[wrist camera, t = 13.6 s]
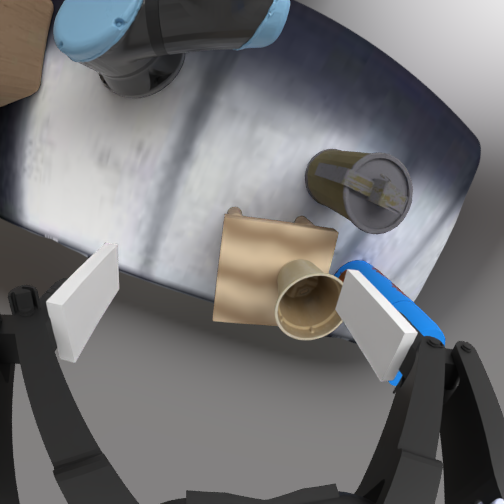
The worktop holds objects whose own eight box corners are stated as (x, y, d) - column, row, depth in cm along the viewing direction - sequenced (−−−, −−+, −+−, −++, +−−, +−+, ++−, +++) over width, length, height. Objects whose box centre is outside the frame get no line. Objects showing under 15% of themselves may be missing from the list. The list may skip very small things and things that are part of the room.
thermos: (331, 311, 59) (382, 396, 36) (326, 267, 55) (388, 345, 32) (376, 298, 59) (439, 370, 36) (375, 253, 55) (451, 317, 32)
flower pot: (298, 317, 44) (312, 351, 36) (252, 284, 41) (258, 317, 33) (340, 273, 42) (364, 300, 34) (296, 234, 39) (314, 257, 31)
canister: (366, 163, 49) (435, 177, 30) (345, 214, 52) (404, 251, 33) (315, 138, 46) (370, 136, 28) (293, 193, 49) (335, 222, 31)
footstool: (224, 200, 49) (224, 217, 38) (314, 213, 51) (338, 232, 40) (214, 285, 54) (212, 320, 43) (296, 292, 56) (312, 327, 45)
